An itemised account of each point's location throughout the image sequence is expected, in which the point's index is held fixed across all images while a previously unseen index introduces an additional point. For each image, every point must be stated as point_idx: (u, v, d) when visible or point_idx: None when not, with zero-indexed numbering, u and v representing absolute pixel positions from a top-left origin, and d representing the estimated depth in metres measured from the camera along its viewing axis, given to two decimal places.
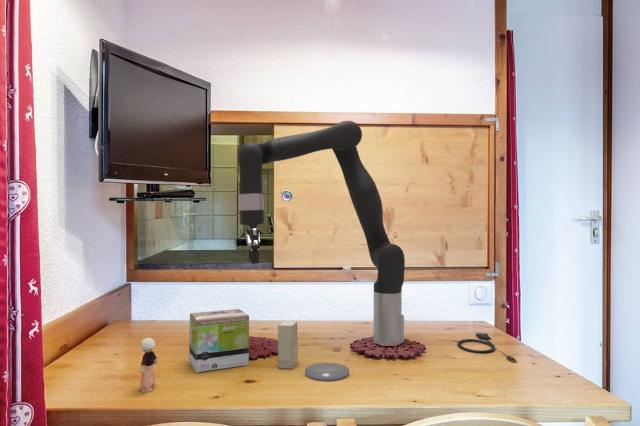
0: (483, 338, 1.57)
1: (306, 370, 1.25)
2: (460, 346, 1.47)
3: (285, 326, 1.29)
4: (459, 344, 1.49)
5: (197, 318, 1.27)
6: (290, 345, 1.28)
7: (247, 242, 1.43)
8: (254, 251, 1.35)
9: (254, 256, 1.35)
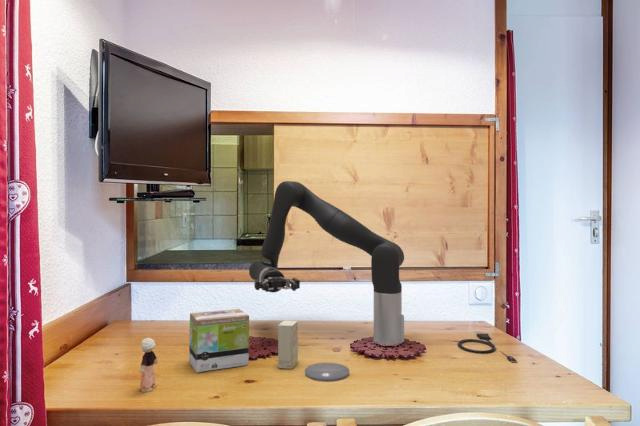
0: (483, 338, 1.57)
1: (306, 370, 1.25)
2: (460, 346, 1.47)
3: (285, 326, 1.29)
4: (459, 344, 1.49)
5: (197, 318, 1.27)
6: (290, 345, 1.28)
7: (286, 288, 1.48)
8: (262, 287, 1.44)
9: (262, 288, 1.42)
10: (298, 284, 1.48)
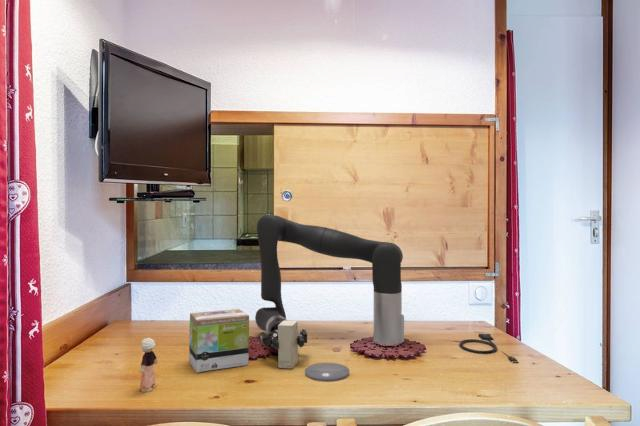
0: (485, 338, 1.56)
1: (306, 370, 1.25)
2: (462, 346, 1.47)
3: (285, 326, 1.29)
4: (461, 344, 1.49)
5: (197, 318, 1.27)
6: (290, 345, 1.28)
7: None
8: (271, 343, 1.31)
9: (272, 344, 1.30)
10: (305, 338, 1.35)
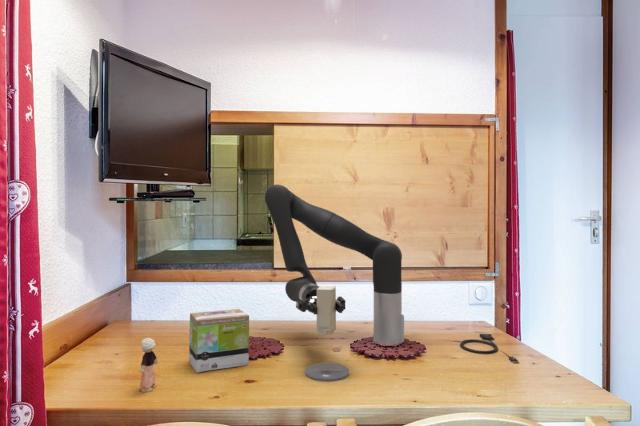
0: (486, 339, 1.56)
1: (306, 370, 1.25)
2: (462, 346, 1.47)
3: (324, 290, 1.22)
4: (462, 344, 1.49)
5: (197, 318, 1.27)
6: (329, 310, 1.22)
7: None
8: (309, 308, 1.25)
9: (310, 309, 1.24)
10: (344, 305, 1.29)
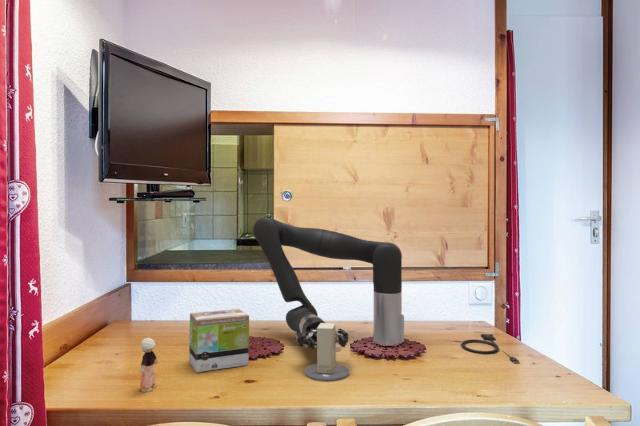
0: (488, 339, 1.56)
1: (306, 370, 1.25)
2: (463, 346, 1.47)
3: (324, 329, 1.22)
4: (463, 344, 1.49)
5: (197, 318, 1.27)
6: (330, 349, 1.22)
7: None
8: (306, 343, 1.25)
9: (307, 344, 1.24)
10: (346, 338, 1.29)
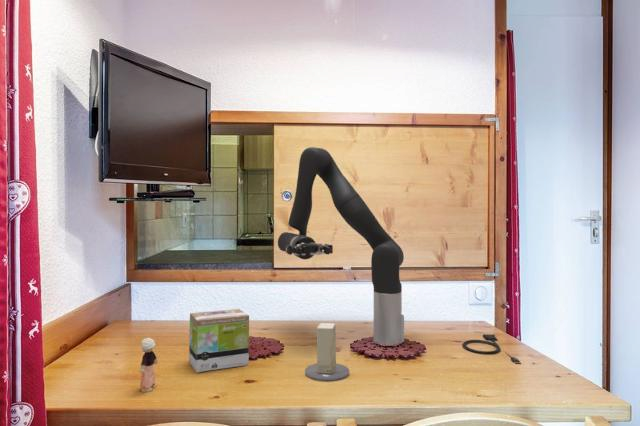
0: (489, 339, 1.56)
1: (306, 370, 1.25)
2: (465, 346, 1.47)
3: (325, 329, 1.22)
4: (464, 344, 1.48)
5: (197, 318, 1.27)
6: (330, 349, 1.22)
7: (318, 253, 1.44)
8: (294, 251, 1.40)
9: (295, 251, 1.38)
10: (331, 249, 1.44)
